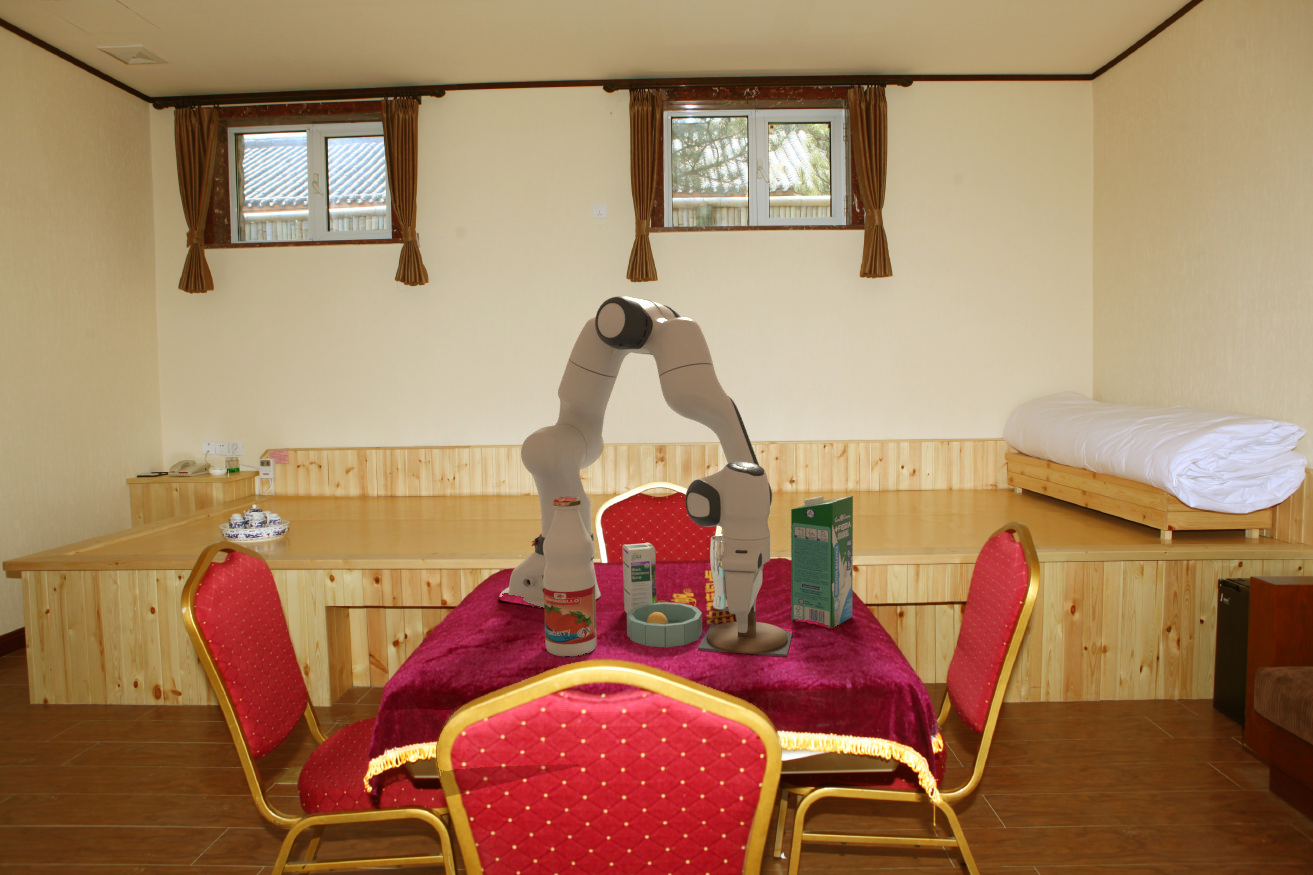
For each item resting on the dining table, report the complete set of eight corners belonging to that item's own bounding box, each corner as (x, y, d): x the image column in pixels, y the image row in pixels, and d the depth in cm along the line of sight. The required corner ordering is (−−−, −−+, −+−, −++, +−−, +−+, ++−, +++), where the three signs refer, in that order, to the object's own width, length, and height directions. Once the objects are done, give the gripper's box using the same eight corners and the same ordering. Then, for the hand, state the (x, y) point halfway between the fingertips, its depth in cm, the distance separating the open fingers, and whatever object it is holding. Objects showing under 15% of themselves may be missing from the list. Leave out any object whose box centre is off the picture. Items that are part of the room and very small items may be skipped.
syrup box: (630, 619, 162) (628, 549, 160) (623, 610, 167) (622, 543, 166) (657, 616, 163) (655, 547, 162) (649, 607, 169) (648, 541, 167)
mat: (698, 649, 144) (698, 647, 144) (711, 626, 156) (711, 624, 156) (786, 656, 140) (786, 654, 140) (793, 631, 152) (793, 629, 152)
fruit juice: (605, 642, 148) (601, 495, 146) (582, 660, 140) (578, 504, 137) (560, 637, 152) (556, 493, 149) (536, 654, 143) (530, 501, 140)
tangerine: (655, 639, 152) (642, 630, 150) (655, 621, 155) (642, 612, 152) (671, 632, 150) (658, 623, 148) (671, 614, 153) (659, 605, 151)
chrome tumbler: (742, 612, 164) (741, 541, 163) (708, 611, 166) (707, 540, 164) (745, 602, 171) (744, 534, 170) (713, 601, 173) (712, 533, 171)
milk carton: (812, 608, 166) (812, 491, 164) (852, 617, 160) (853, 495, 158) (791, 620, 159) (790, 497, 157) (832, 629, 153) (832, 502, 151)
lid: (699, 649, 143) (699, 624, 142) (714, 622, 157) (714, 599, 157) (783, 656, 139) (783, 629, 138) (791, 628, 153) (790, 603, 153)
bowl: (619, 643, 148) (618, 622, 147) (639, 619, 161) (639, 600, 161) (692, 649, 144) (692, 627, 144) (707, 624, 158) (707, 604, 157)
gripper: (737, 537, 157) (738, 605, 159) (719, 563, 137) (720, 640, 139) (769, 538, 156) (769, 606, 157) (756, 564, 136) (756, 642, 137)
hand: (746, 622), depth 148 cm, fingers open, 8 cm apart
